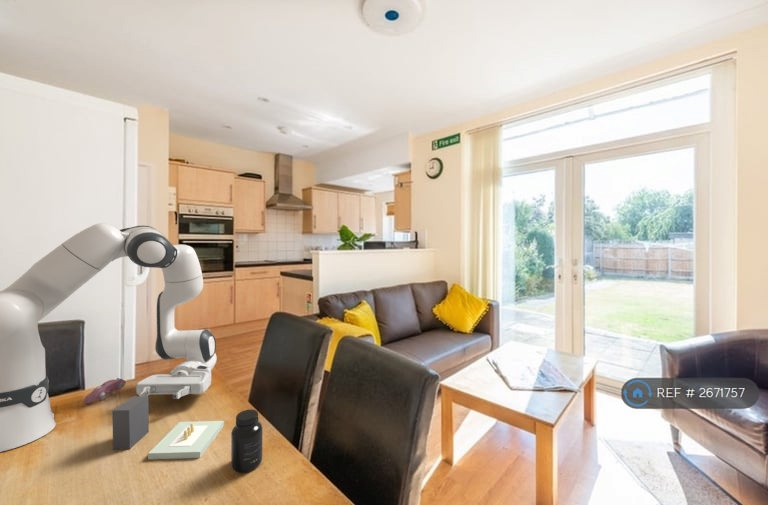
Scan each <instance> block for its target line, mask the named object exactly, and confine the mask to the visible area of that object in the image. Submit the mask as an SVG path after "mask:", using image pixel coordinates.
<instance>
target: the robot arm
mask: <svg viewBox="0 0 768 505" xmlns="http://www.w3.org/2000/svg"><path fill="white" fill-rule="evenodd" d="M123 257H124V258H125V257H128V258H129V260H131V261H132V262H133V263H134V264H135V265H137V266H139V267H143V268H153V269H155V268H157V269H161V271H162V274H163V280H164V287H163V288H164V289H163V290H162V291H161V292H160V293H159V294H158V296H157V299H156V341H155V347H154V348H155V352H156V354H157V355H158V356H159V358H161V359H162V360H173V359H175V360H176V359H183V358H184V359H185V360H184V361H183V362H181V363H180V364H178V365H177V366H175V367H174V368H172V369H171V371H170V372H169V373H165V374H160V373H157V374H153V375H150V376H147V377H146V378H144V379H141V380H139V381H138V382H137V383H136V385H135V391H136V392H135V393H136V394H137V395H138V396H148V398H149V396H150V395H151V396H152V395H153V396H154V395H156V396H157V395H158V396H159V395H172V400H179V399H180V398H181V397H184V396H186V395H200V394H203V393H205V392H206V391H207V390H208V389H209V388H210V387H211V384H212V370H214V367H215V366H216V363H217V360H218V359H217V358H218V357H217V354H216V348H217V343H216V341H217V340H216V337H215V336H214V335H213V333H212V332H211V331H210V330H209V329H191V330H188V329H187V330H179V329H177V328H176V326H175V318H176V317H175V309H176V307H179V306H182V305H184V304H186V303H188V302H190V301H192V300H195V298H196V297H198V296H199V295H200V294H201V293H202V291H203V289H204V278H203V273H202V268H201V264H200V261H199V258H198V255H197V253H196V251H195V249H194V248H193V247H192V246H190V245H187V244H182V243H181V244H179V243H178V244H172V243H171V241H170V240H169V239H168V238H166V236H165V235H164V234H163V233H162V232H161V231H159V230H158V229H156V228H154V227H152V226H150V225H135V226H131V227H126V228H123V229H121V228H120V229H118V228H117V227H116V226H113V225H111V224H108V223H103V222H102V223H96V224H93V225H91V226H88V227H86V228H85V229H83V230H80V231H79V232H77V233H76V234H74V235H72V236H71V237H69V238H68V239H66V240H65V241H64V242H62V243H61V244H60V245H59V244H58V246H57V247H55V248H54V249H53V250H51V251H50V252H48V253H47V254H46V255H45V256H43V257H42V258H41V259H39V260H37V261H36V262H35V263H33V264H32V265H31V267H30V268H29V269H28V270H27V271H25V272H24V273H23V274H22V275H21V276H20V277H19V278H17V279H16V280H14V282H12V284H10V285H9V286H7V287H6V288H4V289H3V290H1V291H0V453H2V452H5V451H9V450H12V449H15V448H18V447H22V446H24V445H27V444H29V443H32V442H35V441H36V440H38V439H40V438H43V436H45V435H47V434H49V433H50V432H51V431H53V429H55V427H56V426H57V424H56V421H55V414H54V412H52V407H51V403H50V397H49V393H48V392H49V389H50V388H49V382H50V380H49V377H48V376H47V375H46V374H47V373H46V372H47V371H46V349H45V346H43V343H42V341H41V337H40V333H39V327H38V326H39V324H38V323H39V322H40V321H41V320H43V319H44V318H45V317H46V316H48V315H49V314H50V313H51V312H53V310H55V309H56V308H57V307H58V306H60V305H61V304H62V303H63V302H64V301H66V300H67V299H68V298H70V296H72V295H73V294H74V293H75V292H77V291H78V290H79V289H80V288H81V287H82V286H84V285H85V284H86V283H87V282H88V281H90V280H92V278H93V277H95V276H96V275H97V274H99V273H100V272H101V271H102V270H103V269H104V268H106V267H107V266H108V265H109V264H110V263H111V262H114V261H115V260H118V259H120V258H123Z"/></svg>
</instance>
